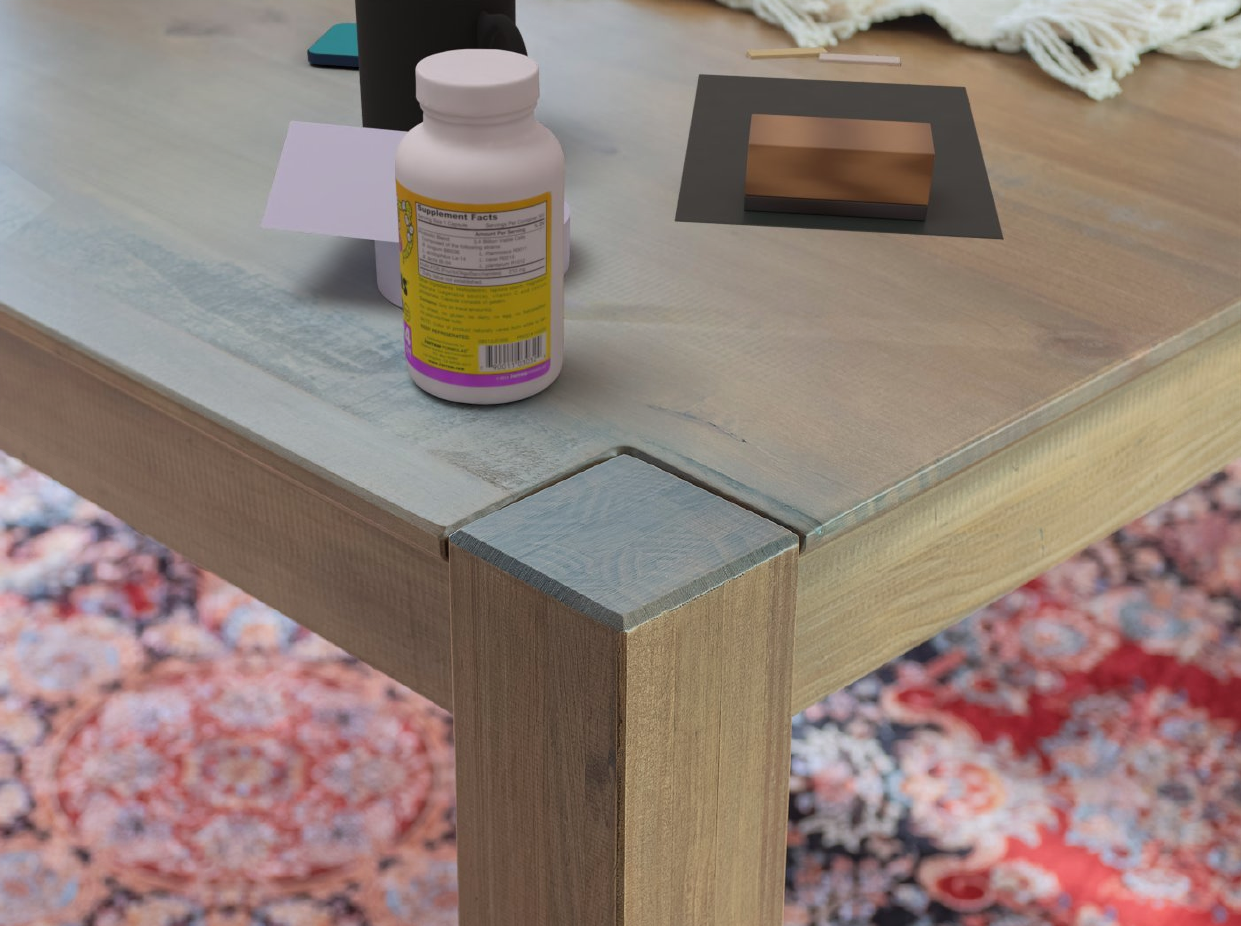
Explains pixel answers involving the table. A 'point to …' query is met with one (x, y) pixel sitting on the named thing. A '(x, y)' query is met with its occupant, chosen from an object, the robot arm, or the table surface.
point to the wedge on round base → (347, 192)
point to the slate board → (731, 101)
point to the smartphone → (336, 47)
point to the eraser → (839, 167)
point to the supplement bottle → (481, 231)
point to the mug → (420, 48)
